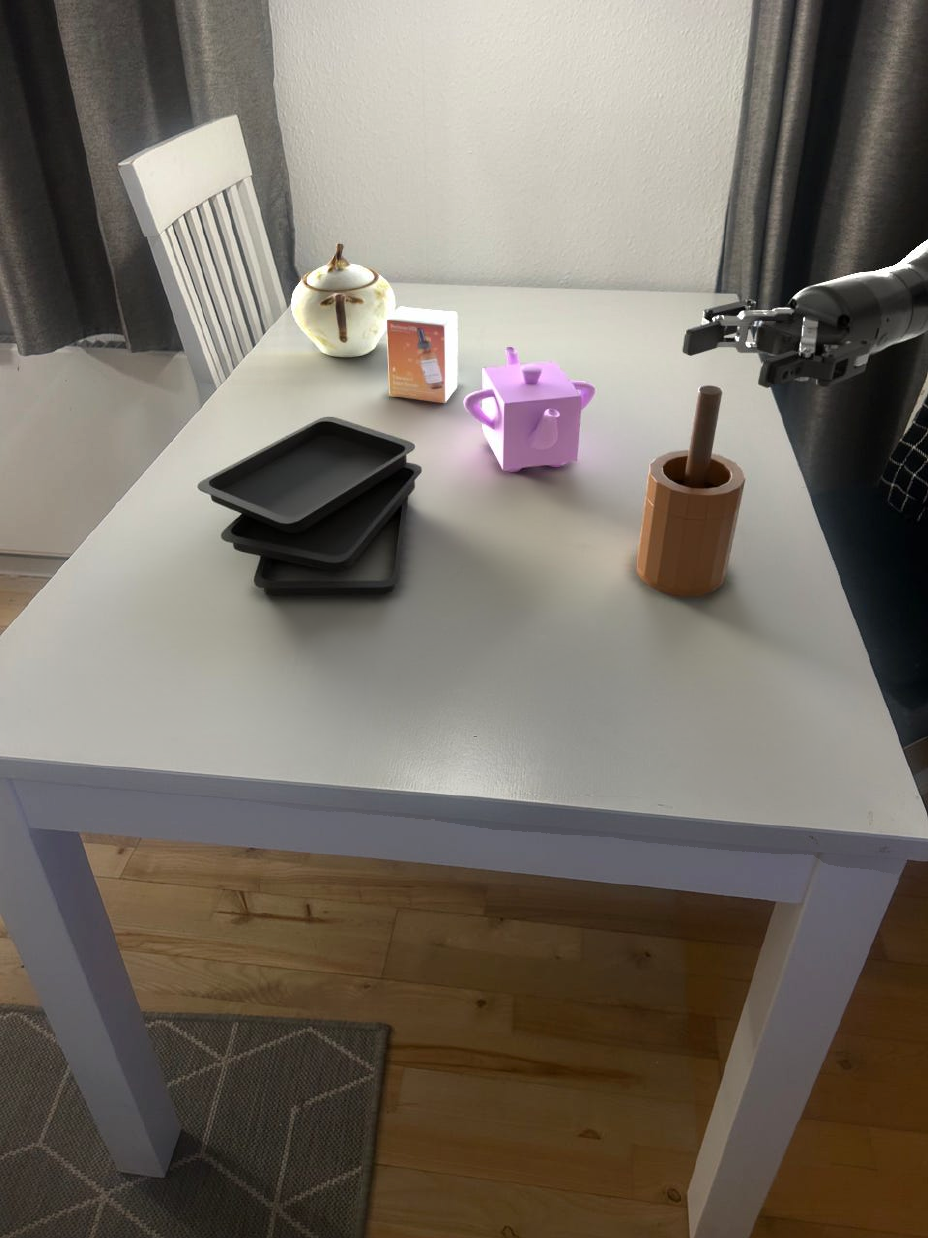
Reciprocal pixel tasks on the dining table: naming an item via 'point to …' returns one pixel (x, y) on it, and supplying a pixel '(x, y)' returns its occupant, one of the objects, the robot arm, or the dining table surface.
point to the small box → (422, 354)
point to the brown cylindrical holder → (688, 525)
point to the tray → (317, 502)
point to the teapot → (530, 412)
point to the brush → (702, 436)
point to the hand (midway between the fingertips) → (723, 358)
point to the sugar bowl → (343, 307)
